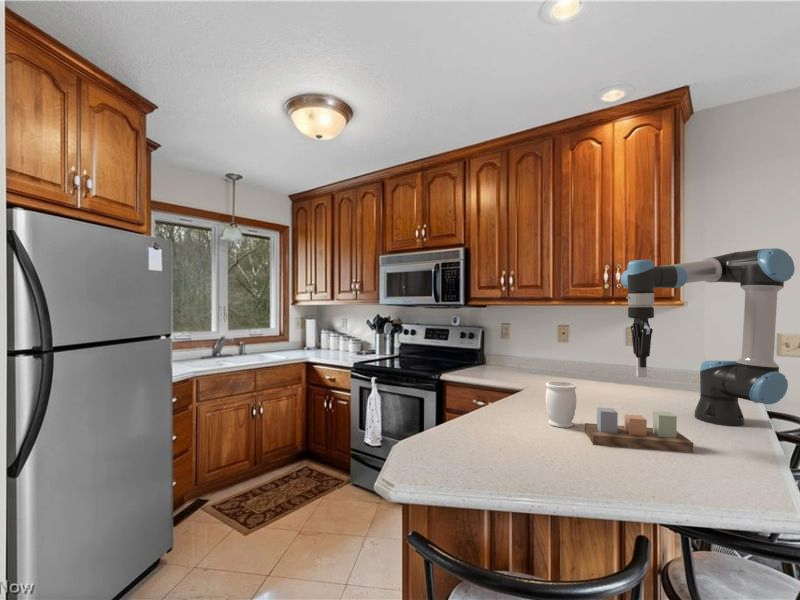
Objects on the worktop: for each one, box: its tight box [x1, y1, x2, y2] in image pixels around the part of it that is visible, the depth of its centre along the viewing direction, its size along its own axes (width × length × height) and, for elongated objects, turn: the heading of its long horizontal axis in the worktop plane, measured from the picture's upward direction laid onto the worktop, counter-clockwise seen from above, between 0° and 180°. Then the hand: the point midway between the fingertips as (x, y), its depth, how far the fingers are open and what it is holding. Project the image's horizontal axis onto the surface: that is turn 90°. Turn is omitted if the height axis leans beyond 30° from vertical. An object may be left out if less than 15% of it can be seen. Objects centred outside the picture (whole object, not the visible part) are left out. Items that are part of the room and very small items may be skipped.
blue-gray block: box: [596, 407, 619, 434], centre depth 136 cm, size 5×5×8 cm
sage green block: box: [652, 410, 678, 438], centre depth 132 cm, size 5×5×8 cm
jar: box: [544, 381, 577, 429], centre depth 151 cm, size 11×10×15 cm
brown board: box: [584, 422, 694, 454], centre depth 134 cm, size 28×13×3 cm, turn 77°
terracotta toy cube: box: [623, 413, 648, 436], centre depth 134 cm, size 5×5×8 cm
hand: (641, 376), depth 138 cm, fingers closed
